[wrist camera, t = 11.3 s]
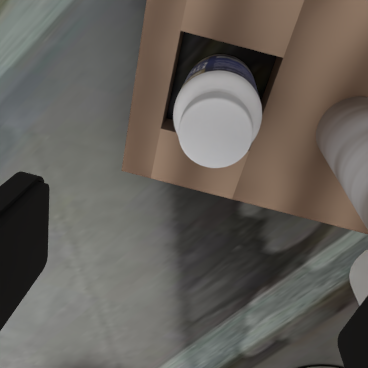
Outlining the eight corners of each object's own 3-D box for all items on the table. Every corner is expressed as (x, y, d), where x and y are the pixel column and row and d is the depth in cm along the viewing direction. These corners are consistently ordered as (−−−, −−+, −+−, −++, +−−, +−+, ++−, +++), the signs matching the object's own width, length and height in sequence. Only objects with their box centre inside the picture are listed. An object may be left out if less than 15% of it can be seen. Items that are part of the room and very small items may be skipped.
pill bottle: (200, 40, 24) (186, 65, 16) (267, 69, 25) (287, 107, 16) (175, 107, 27) (151, 159, 18) (236, 132, 27) (240, 193, 19)
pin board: (485, 29, 22) (737, 63, 11) (364, 218, 30) (442, 344, 19) (163, -57, 22) (97, -109, 11) (129, 157, 30) (72, 250, 19)
